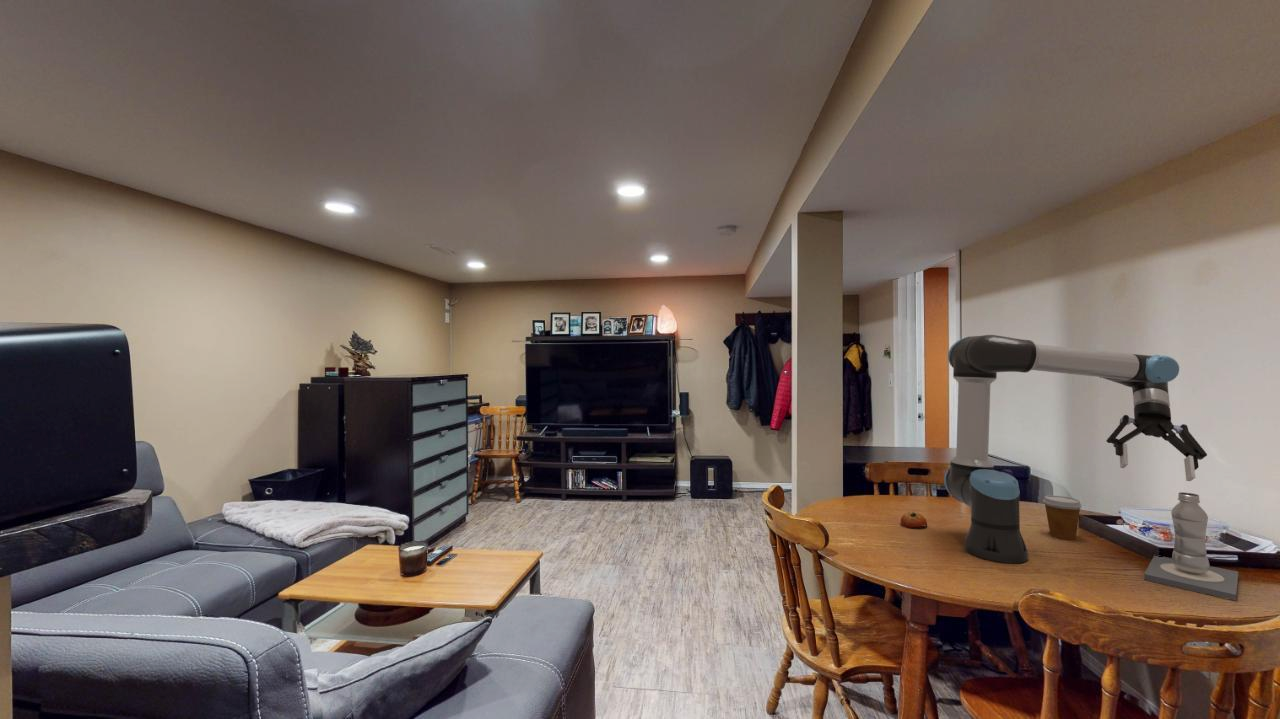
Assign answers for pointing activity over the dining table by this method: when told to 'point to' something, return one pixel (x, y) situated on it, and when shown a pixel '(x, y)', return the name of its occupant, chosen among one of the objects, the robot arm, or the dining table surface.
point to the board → (1193, 578)
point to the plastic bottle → (1190, 534)
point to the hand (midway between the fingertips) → (1156, 472)
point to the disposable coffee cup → (1062, 516)
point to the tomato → (913, 520)
